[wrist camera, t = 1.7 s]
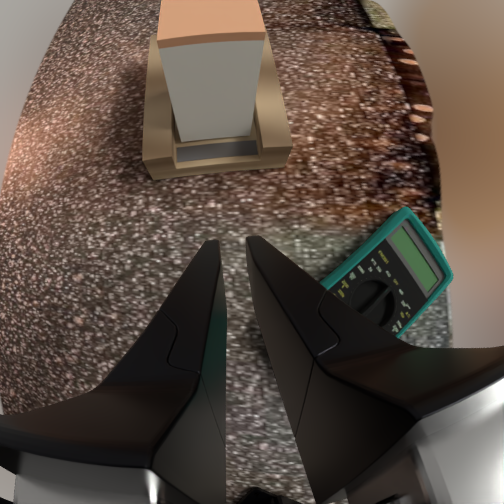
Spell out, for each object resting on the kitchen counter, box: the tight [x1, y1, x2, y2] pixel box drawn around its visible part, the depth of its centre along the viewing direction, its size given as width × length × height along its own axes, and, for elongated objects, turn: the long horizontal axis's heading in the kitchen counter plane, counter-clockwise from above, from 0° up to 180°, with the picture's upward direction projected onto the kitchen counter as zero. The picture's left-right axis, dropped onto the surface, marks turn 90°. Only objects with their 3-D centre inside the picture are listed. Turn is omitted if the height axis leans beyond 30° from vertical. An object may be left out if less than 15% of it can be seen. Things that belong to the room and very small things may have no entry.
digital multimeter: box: [319, 207, 453, 338], centre depth 21 cm, size 7×15×3 cm, turn 128°
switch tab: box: [157, 0, 266, 142], centre depth 17 cm, size 4×5×10 cm
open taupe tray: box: [142, 27, 293, 180], centre depth 22 cm, size 13×10×4 cm
